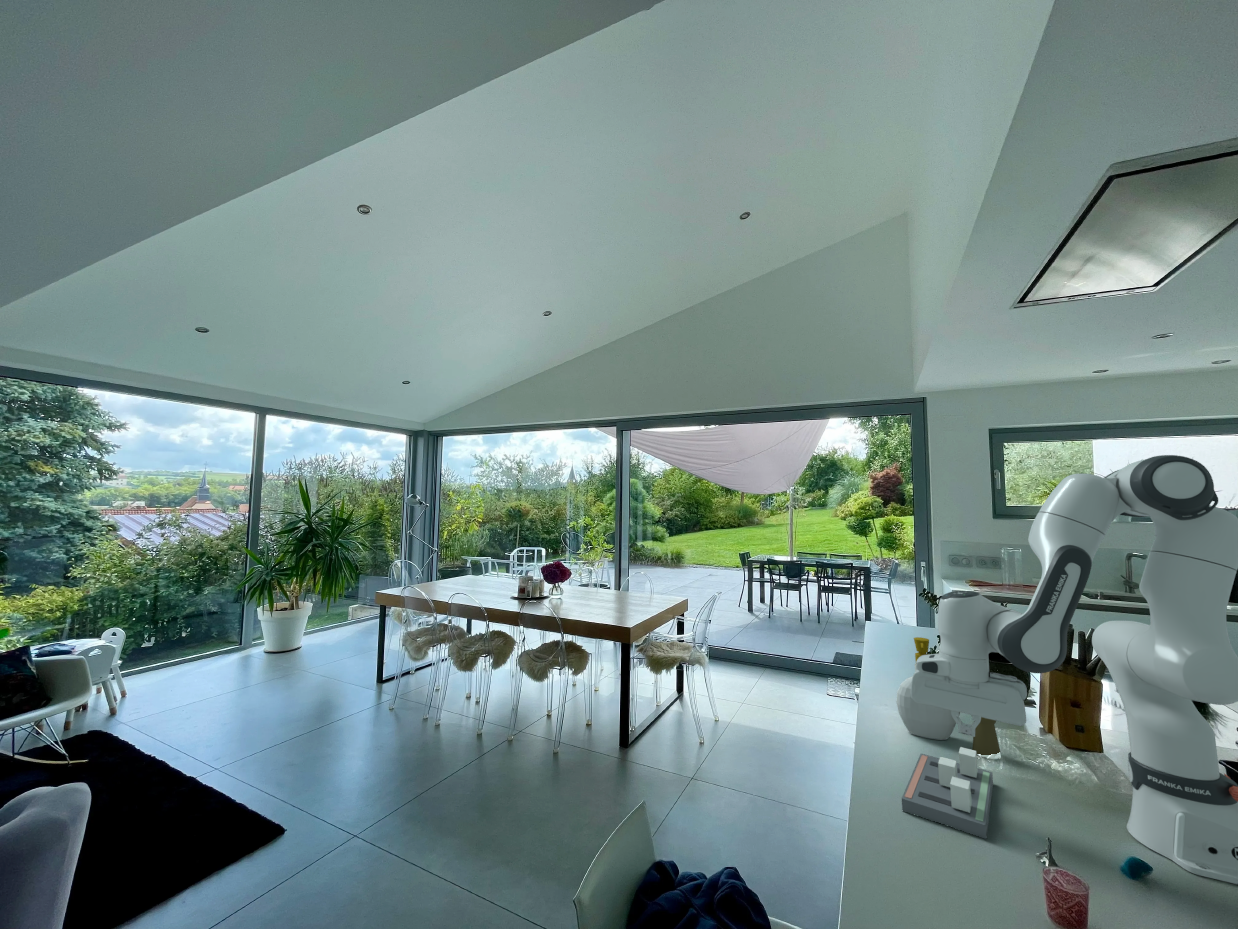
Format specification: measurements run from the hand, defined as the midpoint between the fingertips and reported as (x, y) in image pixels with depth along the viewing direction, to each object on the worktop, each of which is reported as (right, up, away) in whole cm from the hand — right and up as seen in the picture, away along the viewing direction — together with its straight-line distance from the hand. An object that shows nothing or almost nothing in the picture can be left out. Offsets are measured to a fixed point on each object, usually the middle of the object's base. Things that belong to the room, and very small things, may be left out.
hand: (966, 734), depth 105 cm
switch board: (-3, -14, +1) cm, 15 cm away
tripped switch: (-3, -12, +2) cm, 12 cm away
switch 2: (-6, -11, -6) cm, 14 cm away
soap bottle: (+10, -17, +29) cm, 35 cm away
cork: (+19, -16, +20) cm, 32 cm away
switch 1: (+5, -12, +6) cm, 14 cm away
